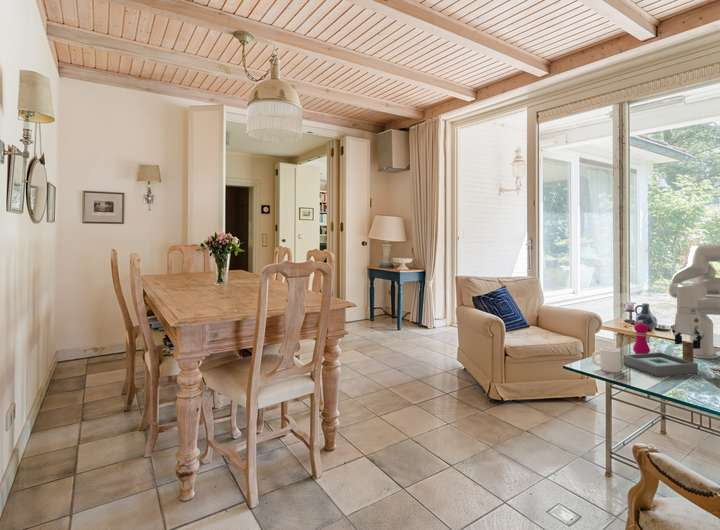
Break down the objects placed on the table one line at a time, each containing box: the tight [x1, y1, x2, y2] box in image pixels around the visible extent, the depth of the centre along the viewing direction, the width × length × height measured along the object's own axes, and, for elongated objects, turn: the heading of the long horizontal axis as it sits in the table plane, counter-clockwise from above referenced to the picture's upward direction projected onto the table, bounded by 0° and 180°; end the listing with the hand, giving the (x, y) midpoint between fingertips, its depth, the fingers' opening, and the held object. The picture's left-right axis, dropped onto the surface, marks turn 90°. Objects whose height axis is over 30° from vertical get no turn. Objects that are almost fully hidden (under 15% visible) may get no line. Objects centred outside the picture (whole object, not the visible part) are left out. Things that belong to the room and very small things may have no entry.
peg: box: [681, 341, 694, 362], centre depth 191 cm, size 4×4×12 cm
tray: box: [623, 351, 699, 378], centre depth 190 cm, size 20×20×5 cm
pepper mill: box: [632, 319, 651, 354], centre depth 209 cm, size 7×7×20 cm
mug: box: [591, 346, 622, 374], centre depth 193 cm, size 12×8×10 cm
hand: (687, 346), depth 190 cm, fingers open, 9 cm apart
